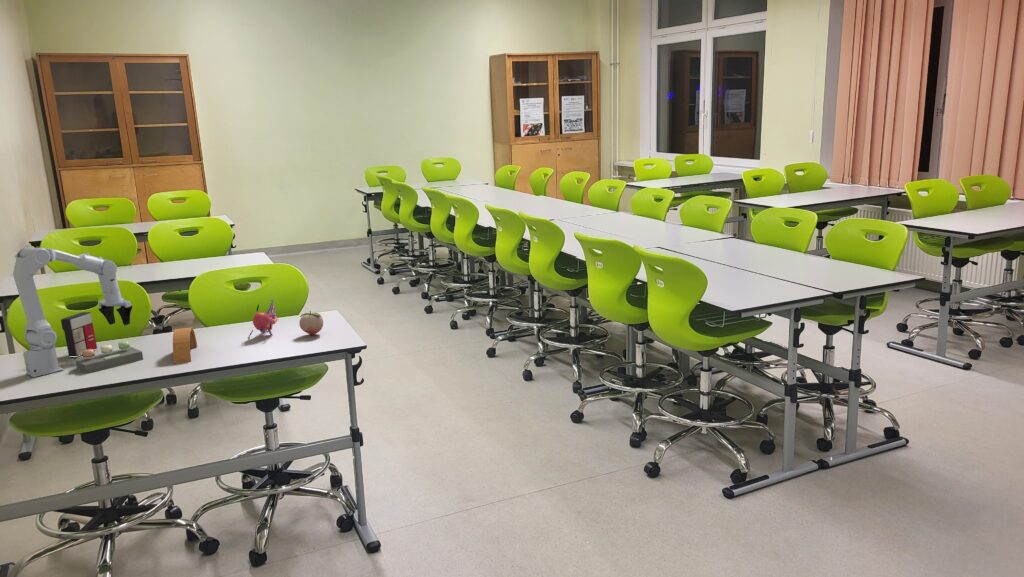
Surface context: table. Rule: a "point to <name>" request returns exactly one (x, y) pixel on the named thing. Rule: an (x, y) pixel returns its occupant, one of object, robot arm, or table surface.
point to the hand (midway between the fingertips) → (119, 324)
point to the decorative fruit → (311, 323)
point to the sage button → (124, 345)
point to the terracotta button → (88, 353)
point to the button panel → (109, 359)
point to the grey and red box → (79, 333)
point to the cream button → (106, 349)
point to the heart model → (265, 320)
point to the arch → (183, 344)
